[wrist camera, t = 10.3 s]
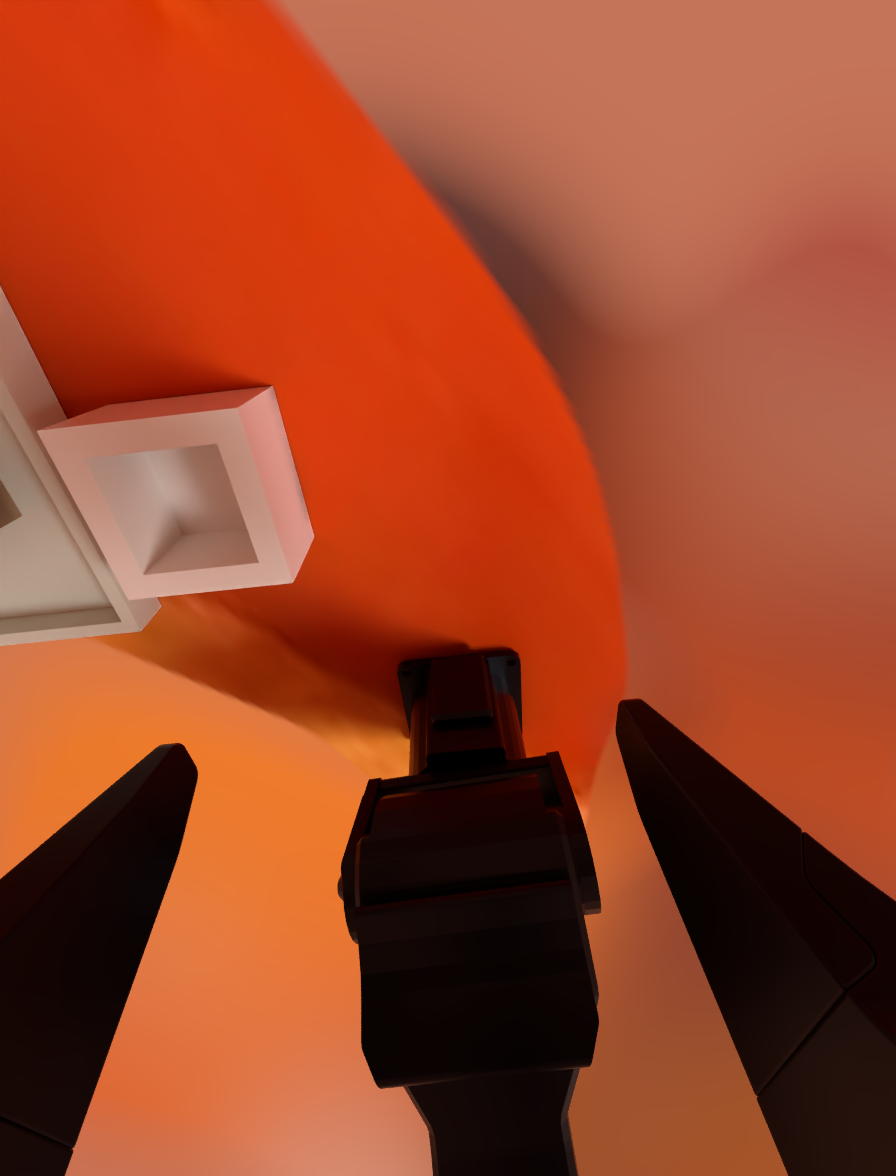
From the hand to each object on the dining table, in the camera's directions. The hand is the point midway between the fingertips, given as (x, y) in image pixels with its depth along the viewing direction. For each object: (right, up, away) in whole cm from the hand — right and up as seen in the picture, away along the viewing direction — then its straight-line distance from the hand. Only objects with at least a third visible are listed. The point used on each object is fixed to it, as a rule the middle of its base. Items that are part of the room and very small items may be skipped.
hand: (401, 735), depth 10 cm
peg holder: (-9, +8, +10) cm, 15 cm away
